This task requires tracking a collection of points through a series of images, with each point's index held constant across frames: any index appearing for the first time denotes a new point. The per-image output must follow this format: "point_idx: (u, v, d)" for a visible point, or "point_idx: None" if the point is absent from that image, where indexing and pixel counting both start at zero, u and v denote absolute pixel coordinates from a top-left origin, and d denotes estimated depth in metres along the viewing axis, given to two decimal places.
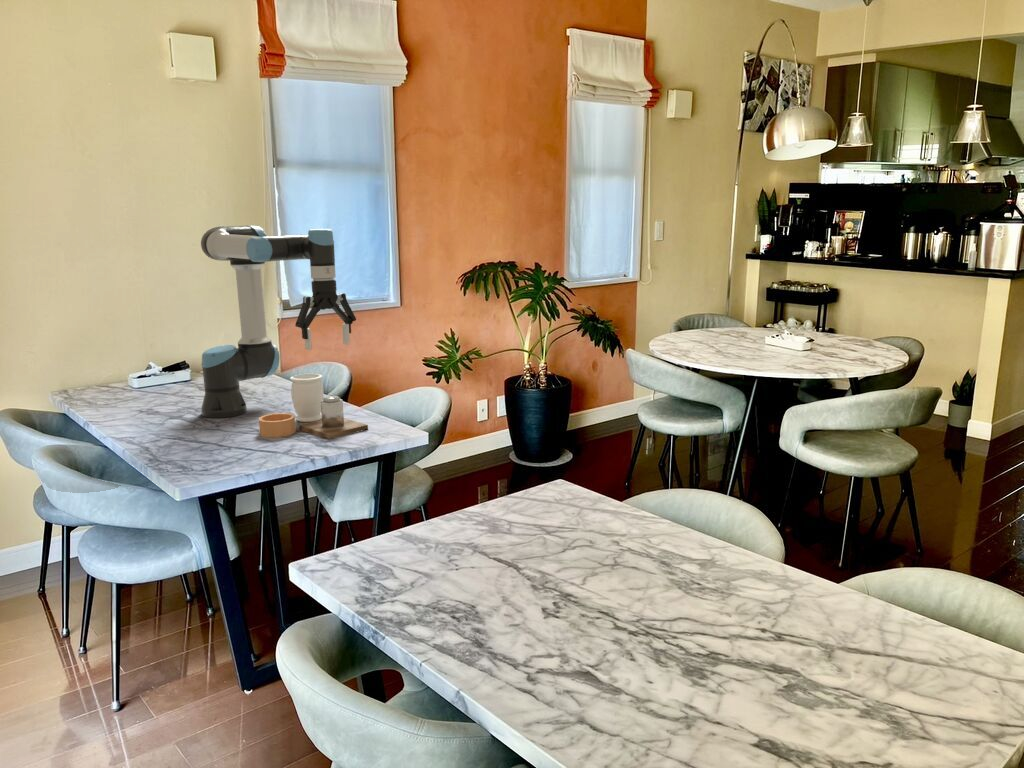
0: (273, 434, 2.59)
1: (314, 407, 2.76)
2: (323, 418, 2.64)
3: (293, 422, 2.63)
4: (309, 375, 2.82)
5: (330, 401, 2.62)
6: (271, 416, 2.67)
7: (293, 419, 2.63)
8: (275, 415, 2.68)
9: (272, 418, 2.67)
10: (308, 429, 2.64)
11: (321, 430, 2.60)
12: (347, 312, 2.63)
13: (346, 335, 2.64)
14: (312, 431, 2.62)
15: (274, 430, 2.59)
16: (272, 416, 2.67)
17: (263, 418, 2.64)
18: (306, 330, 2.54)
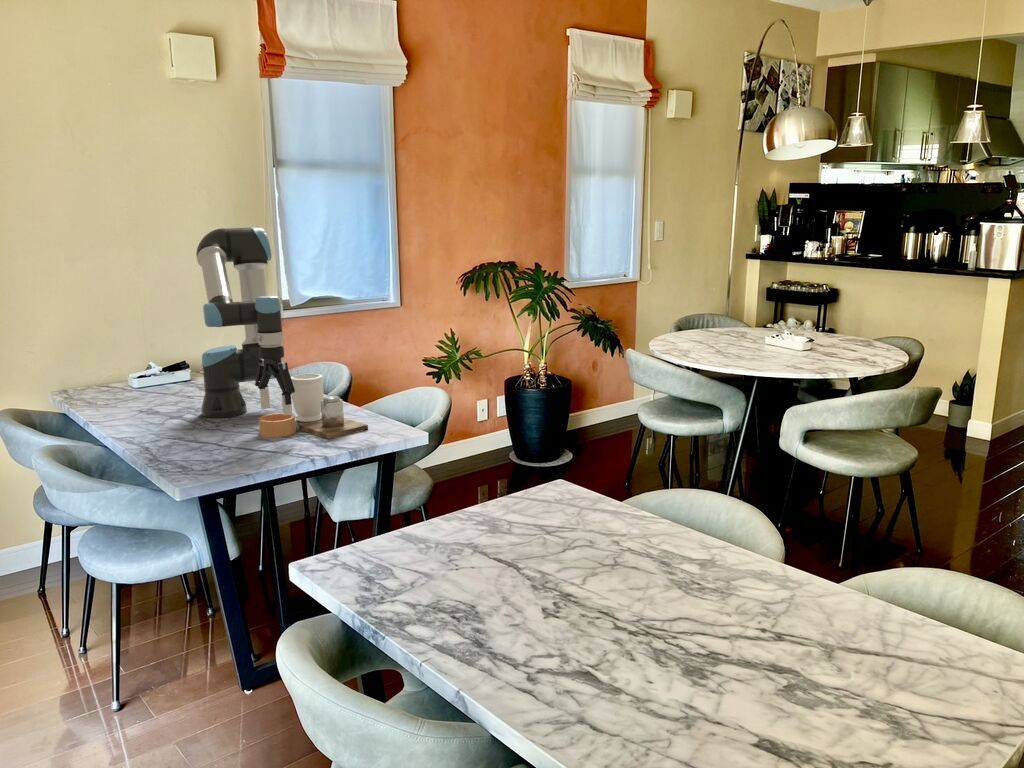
0: (273, 434, 2.59)
1: (314, 407, 2.76)
2: (323, 418, 2.64)
3: (293, 422, 2.63)
4: (309, 375, 2.82)
5: (330, 401, 2.62)
6: (271, 416, 2.67)
7: (293, 419, 2.63)
8: (275, 415, 2.68)
9: (272, 418, 2.67)
10: (308, 429, 2.64)
11: (321, 430, 2.60)
12: None
13: None
14: (312, 431, 2.62)
15: (274, 430, 2.59)
16: (272, 416, 2.67)
17: (263, 418, 2.64)
18: None
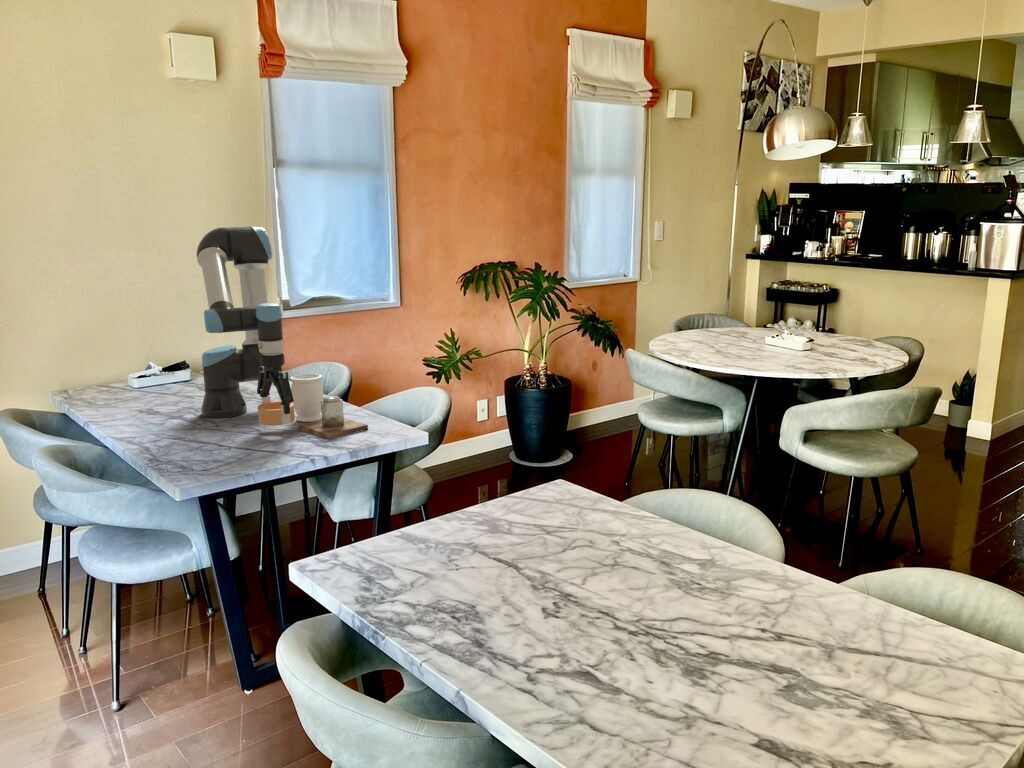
0: (272, 422, 2.59)
1: (314, 407, 2.76)
2: (323, 418, 2.64)
3: (292, 410, 2.63)
4: (309, 375, 2.82)
5: (330, 401, 2.62)
6: (270, 404, 2.67)
7: (292, 407, 2.63)
8: (274, 403, 2.67)
9: (271, 406, 2.67)
10: (308, 429, 2.64)
11: (321, 430, 2.60)
12: None
13: None
14: (312, 431, 2.62)
15: (273, 418, 2.58)
16: (271, 404, 2.67)
17: (262, 406, 2.64)
18: None
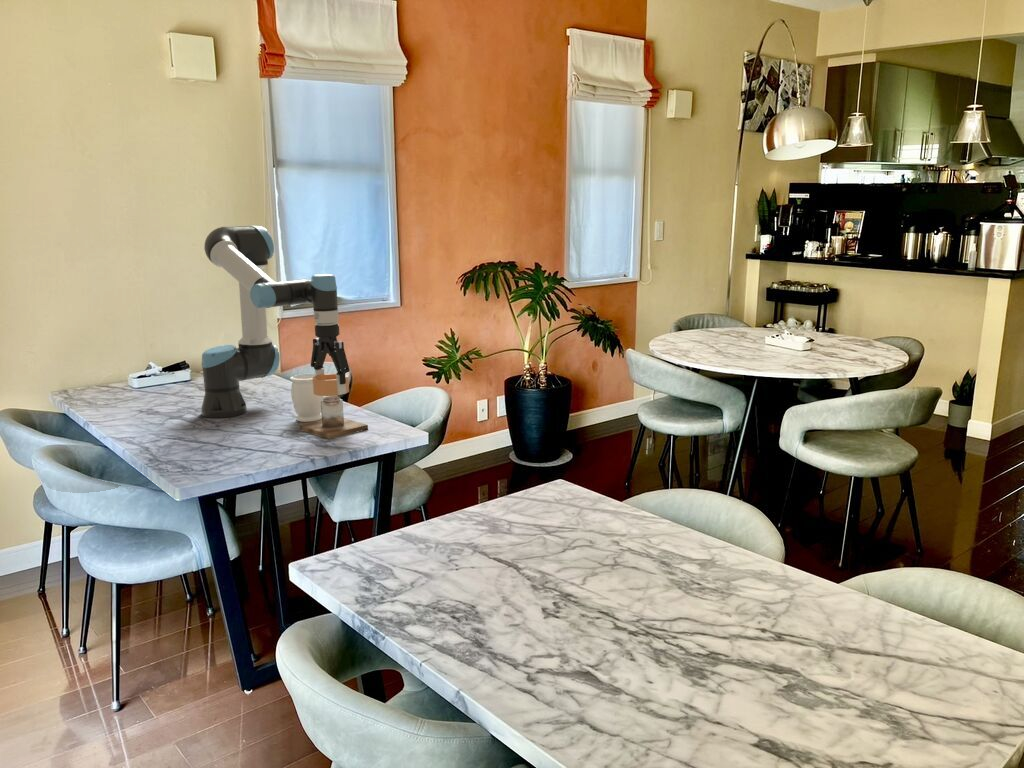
0: (327, 392, 2.59)
1: (314, 407, 2.76)
2: (323, 418, 2.64)
3: (347, 381, 2.63)
4: (309, 375, 2.82)
5: (330, 401, 2.62)
6: (324, 376, 2.67)
7: (347, 378, 2.63)
8: (328, 375, 2.67)
9: (325, 378, 2.67)
10: (308, 429, 2.64)
11: (321, 430, 2.60)
12: None
13: None
14: (312, 431, 2.62)
15: (329, 389, 2.58)
16: (325, 376, 2.67)
17: (316, 378, 2.64)
18: None
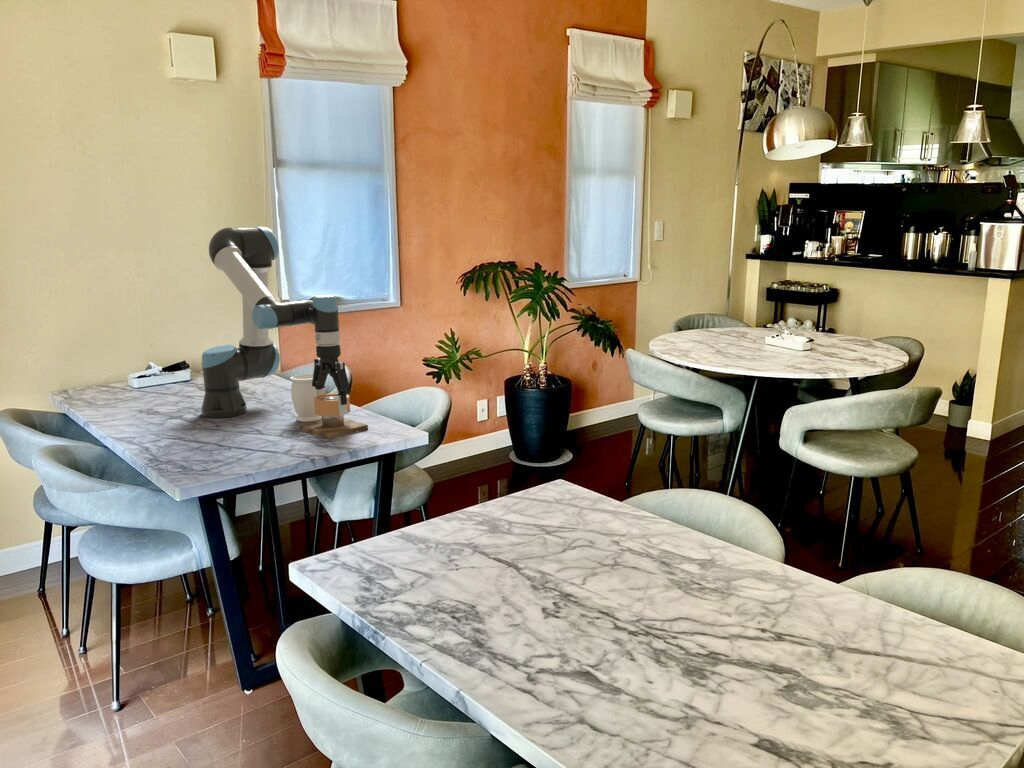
0: (329, 413, 2.60)
1: (314, 407, 2.76)
2: (323, 418, 2.64)
3: (348, 401, 2.64)
4: (309, 375, 2.82)
5: None
6: (325, 396, 2.68)
7: (348, 399, 2.64)
8: (329, 395, 2.69)
9: None
10: (308, 429, 2.64)
11: (321, 430, 2.60)
12: None
13: None
14: (312, 431, 2.62)
15: (330, 409, 2.60)
16: (326, 396, 2.69)
17: (318, 398, 2.65)
18: None
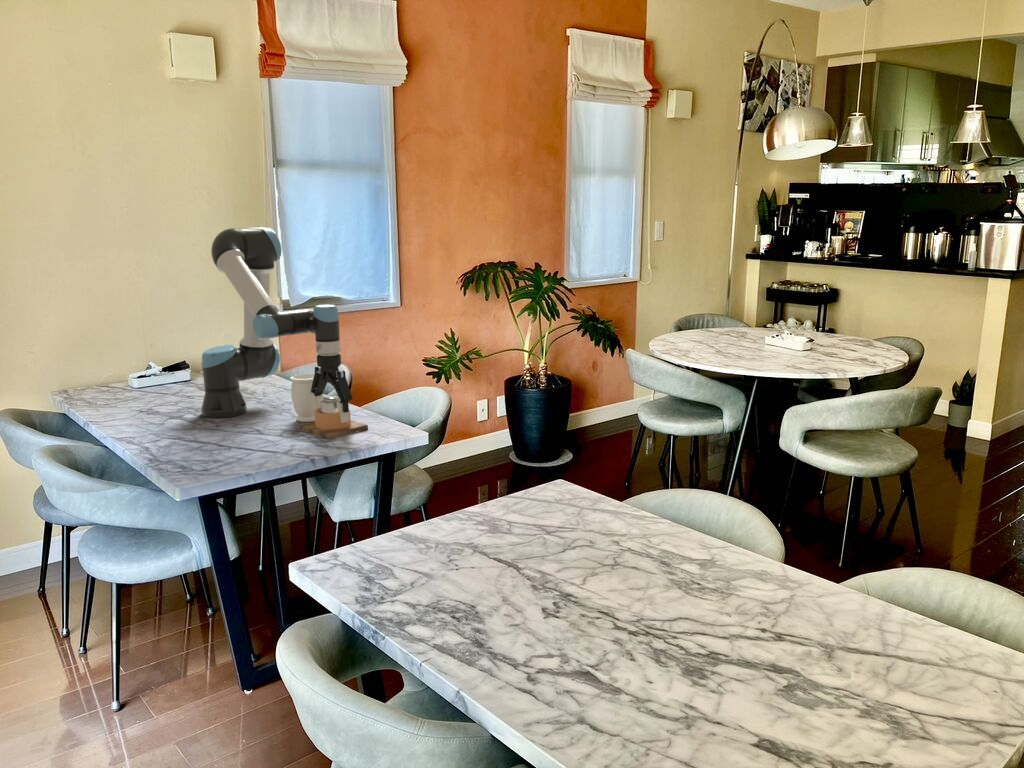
0: (329, 426, 2.61)
1: (314, 407, 2.76)
2: None
3: None
4: (309, 375, 2.82)
5: (330, 401, 2.62)
6: None
7: None
8: None
9: None
10: (308, 429, 2.64)
11: (321, 430, 2.60)
12: None
13: None
14: (312, 431, 2.62)
15: (330, 422, 2.61)
16: None
17: (318, 411, 2.66)
18: None
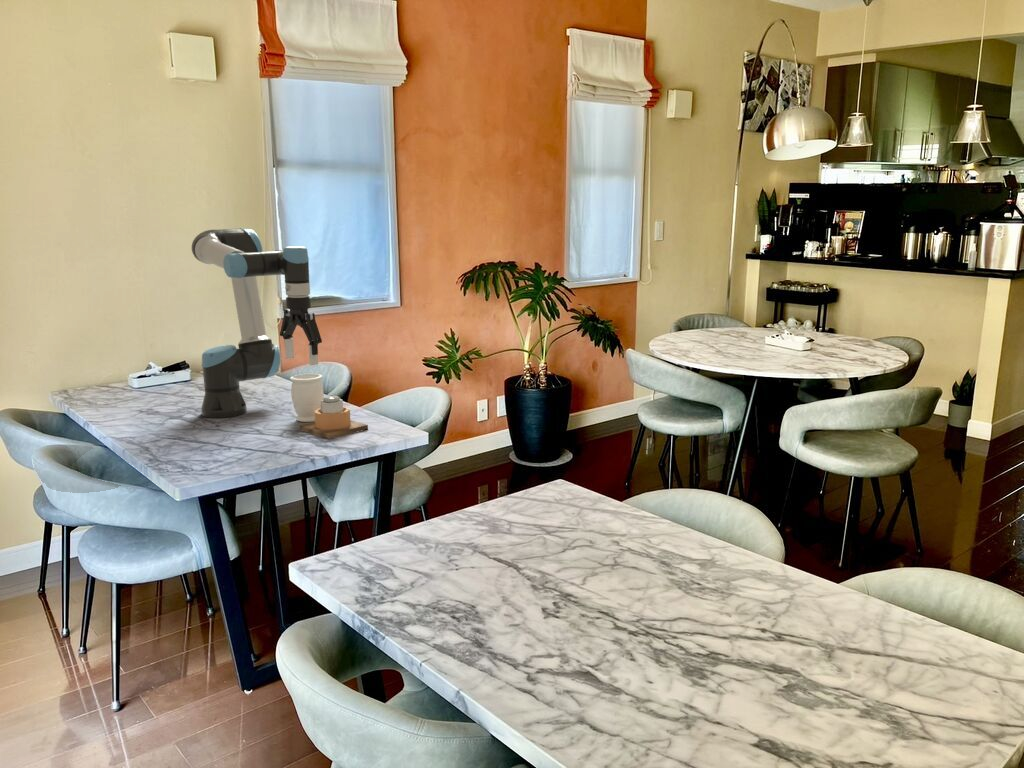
0: (329, 426, 2.61)
1: (314, 407, 2.76)
2: None
3: (348, 415, 2.65)
4: (309, 375, 2.82)
5: (330, 401, 2.62)
6: None
7: (348, 412, 2.65)
8: None
9: None
10: (308, 429, 2.64)
11: (321, 430, 2.60)
12: None
13: None
14: (312, 431, 2.62)
15: (330, 422, 2.61)
16: None
17: (318, 411, 2.66)
18: None
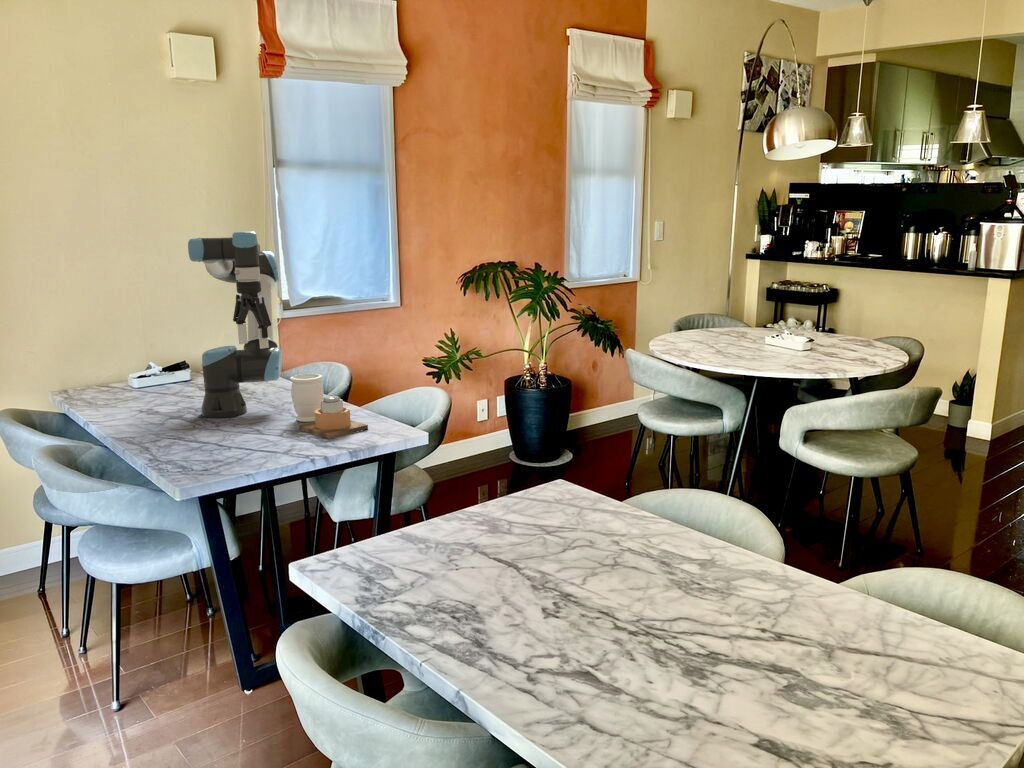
0: (329, 426, 2.61)
1: (314, 407, 2.76)
2: None
3: (348, 415, 2.65)
4: (309, 375, 2.82)
5: (330, 401, 2.62)
6: None
7: (348, 412, 2.65)
8: None
9: None
10: (308, 429, 2.64)
11: (321, 430, 2.60)
12: None
13: None
14: (312, 431, 2.62)
15: (330, 422, 2.61)
16: None
17: (318, 411, 2.66)
18: None
